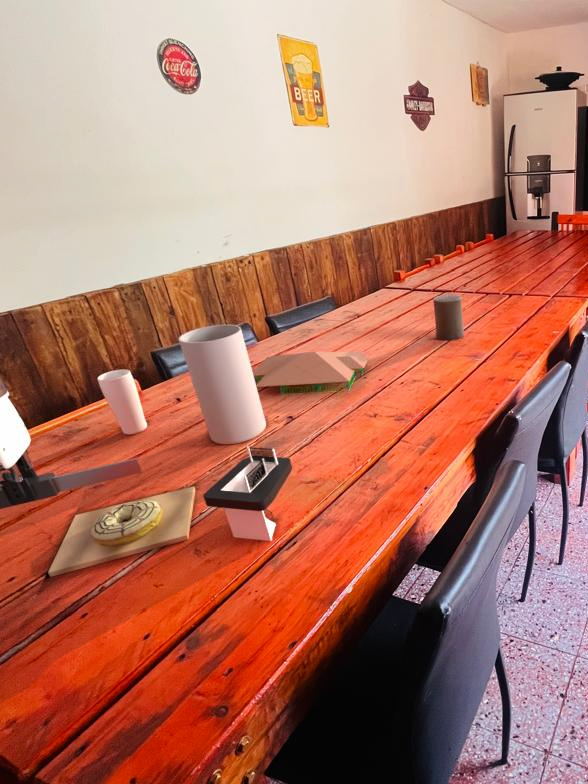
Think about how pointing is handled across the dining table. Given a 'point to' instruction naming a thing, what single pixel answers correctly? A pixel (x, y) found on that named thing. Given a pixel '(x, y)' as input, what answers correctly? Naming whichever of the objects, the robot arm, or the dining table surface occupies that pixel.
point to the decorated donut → (126, 523)
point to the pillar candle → (448, 317)
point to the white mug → (123, 400)
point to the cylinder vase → (224, 383)
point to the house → (310, 369)
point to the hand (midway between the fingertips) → (27, 496)
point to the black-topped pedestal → (250, 493)
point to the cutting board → (88, 552)
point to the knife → (76, 479)
